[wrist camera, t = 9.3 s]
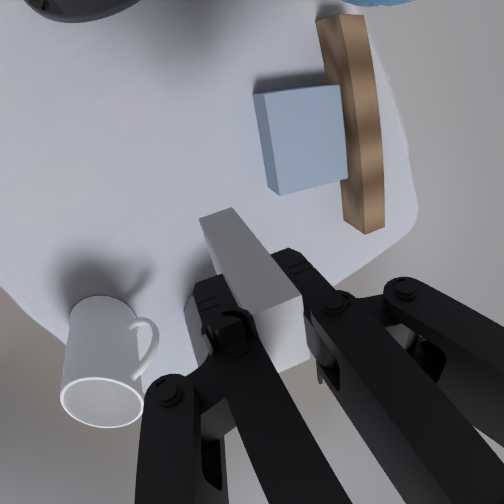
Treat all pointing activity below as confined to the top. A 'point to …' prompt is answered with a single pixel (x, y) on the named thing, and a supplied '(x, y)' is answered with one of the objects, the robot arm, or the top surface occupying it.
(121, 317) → the mug
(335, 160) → the block
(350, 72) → the brown wooden bar
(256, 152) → the top surface
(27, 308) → the top surface
